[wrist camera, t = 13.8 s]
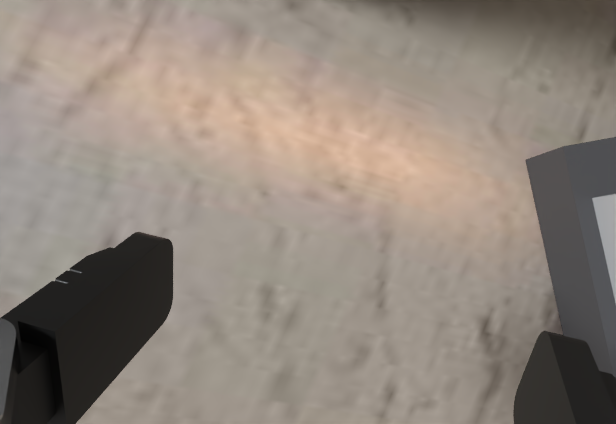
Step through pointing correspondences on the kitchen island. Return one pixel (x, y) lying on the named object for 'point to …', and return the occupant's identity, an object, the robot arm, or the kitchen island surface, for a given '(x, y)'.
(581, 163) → the tray on grey base
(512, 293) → the kitchen island surface
